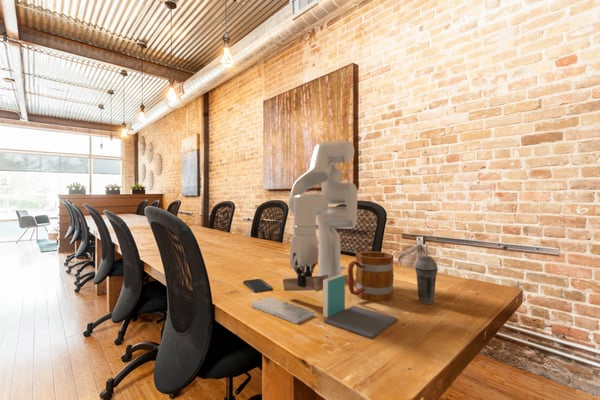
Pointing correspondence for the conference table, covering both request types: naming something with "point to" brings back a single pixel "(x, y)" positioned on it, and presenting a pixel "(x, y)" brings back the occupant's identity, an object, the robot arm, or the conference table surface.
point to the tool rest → (283, 310)
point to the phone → (257, 285)
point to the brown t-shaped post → (311, 283)
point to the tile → (333, 295)
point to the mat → (361, 321)
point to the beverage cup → (426, 278)
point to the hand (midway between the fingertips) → (304, 285)
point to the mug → (372, 276)
